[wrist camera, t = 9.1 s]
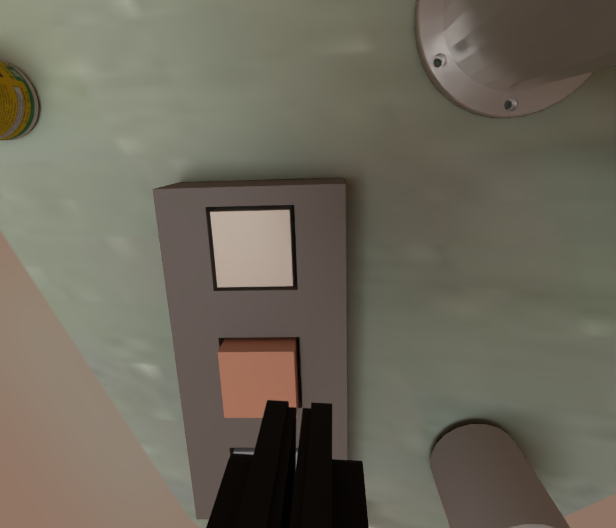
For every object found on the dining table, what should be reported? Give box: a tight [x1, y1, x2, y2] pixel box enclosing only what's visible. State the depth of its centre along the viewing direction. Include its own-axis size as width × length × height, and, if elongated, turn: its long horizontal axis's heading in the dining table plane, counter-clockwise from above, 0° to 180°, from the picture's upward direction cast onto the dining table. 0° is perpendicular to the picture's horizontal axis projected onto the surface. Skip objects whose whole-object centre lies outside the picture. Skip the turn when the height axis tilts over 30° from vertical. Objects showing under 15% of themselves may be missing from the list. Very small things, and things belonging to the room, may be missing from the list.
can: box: [430, 424, 570, 528], centre depth 30 cm, size 8×8×12 cm
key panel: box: [153, 178, 347, 519], centre depth 31 cm, size 26×12×5 cm, turn 2°
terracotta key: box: [218, 337, 300, 418], centre depth 29 cm, size 5×5×4 cm
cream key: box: [210, 205, 297, 287], centre depth 28 cm, size 5×5×4 cm
